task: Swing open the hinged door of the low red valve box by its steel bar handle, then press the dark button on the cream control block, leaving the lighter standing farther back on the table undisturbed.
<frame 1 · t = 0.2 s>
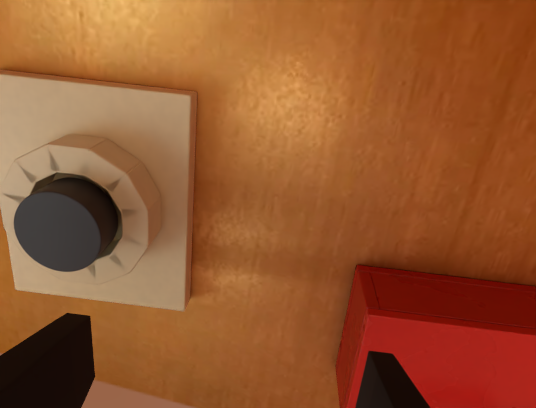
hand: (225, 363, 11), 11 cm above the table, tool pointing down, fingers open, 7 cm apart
valve box: (450, 331, 23), on the table
alarm block: (104, 194, 21), on the table
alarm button: (68, 224, 18), point 3 cm above the table, slide at 0.1 cm
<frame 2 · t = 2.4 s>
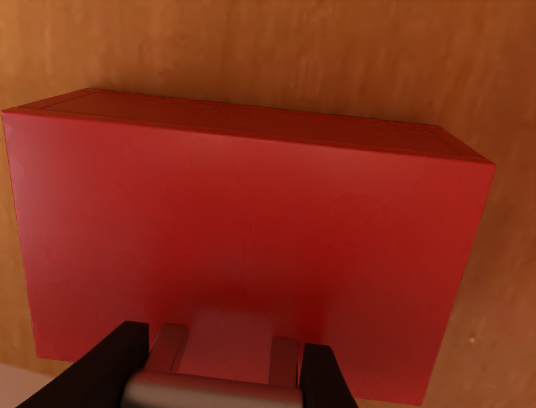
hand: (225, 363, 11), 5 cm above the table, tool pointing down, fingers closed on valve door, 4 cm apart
valve box: (252, 204, 15), on the table
valve door: (227, 301, 10), point 5 cm above the table, hinge at 0.0°, touching gripper
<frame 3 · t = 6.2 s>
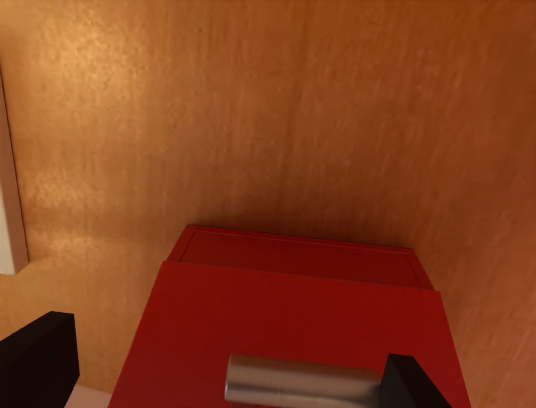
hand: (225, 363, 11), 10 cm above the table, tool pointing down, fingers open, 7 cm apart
valve box: (291, 293, 22), on the table
valve door: (300, 337, 14), point 8 cm above the table, hinge at 72.3°, touching gripper
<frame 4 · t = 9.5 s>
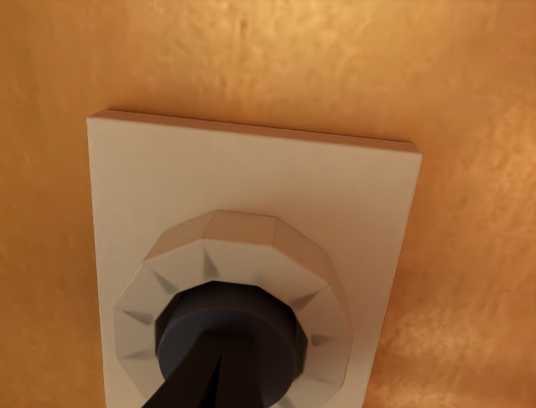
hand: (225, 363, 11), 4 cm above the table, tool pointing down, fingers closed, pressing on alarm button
alarm block: (243, 286, 14), on the table
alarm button: (230, 342, 12), point 3 cm above the table, slide at -0.6 cm, touching gripper
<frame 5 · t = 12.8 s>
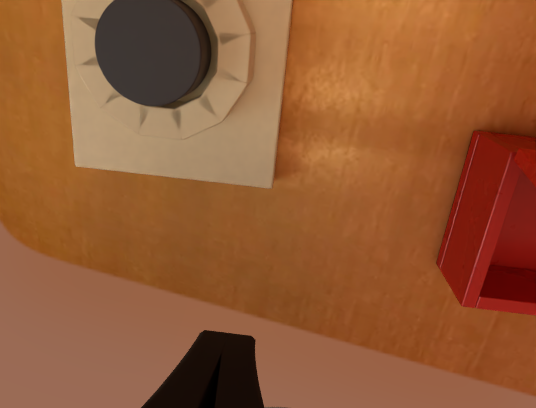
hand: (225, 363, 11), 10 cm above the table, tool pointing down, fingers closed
alarm block: (181, 47, 18), on the table
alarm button: (155, 50, 15), point 4 cm above the table, slide at 0.1 cm
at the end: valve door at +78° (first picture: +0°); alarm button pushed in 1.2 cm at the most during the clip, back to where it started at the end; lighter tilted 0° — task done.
